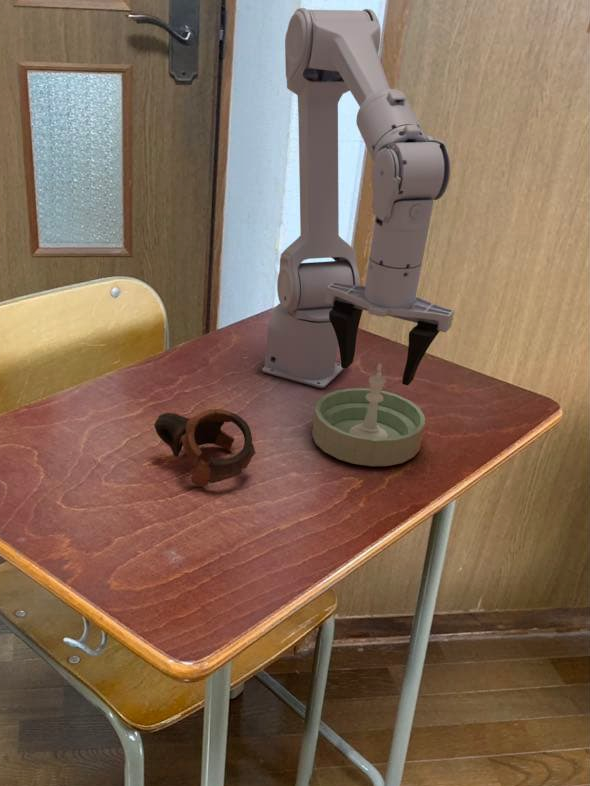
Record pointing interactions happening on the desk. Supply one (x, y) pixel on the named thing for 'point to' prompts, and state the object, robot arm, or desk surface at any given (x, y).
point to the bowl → (350, 410)
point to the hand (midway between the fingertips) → (376, 373)
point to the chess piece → (372, 409)
